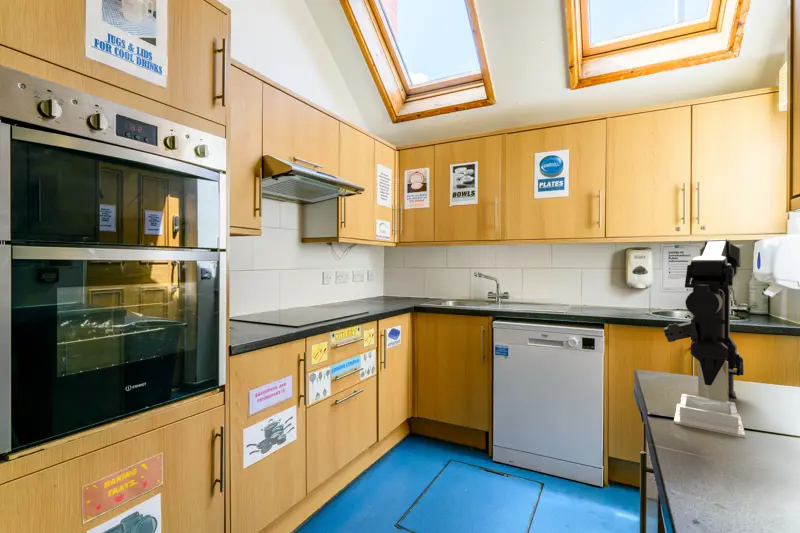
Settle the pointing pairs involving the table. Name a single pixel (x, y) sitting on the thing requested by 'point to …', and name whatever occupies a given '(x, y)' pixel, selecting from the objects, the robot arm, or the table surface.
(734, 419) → the square open tray
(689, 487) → the table surface
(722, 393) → the skincare box
